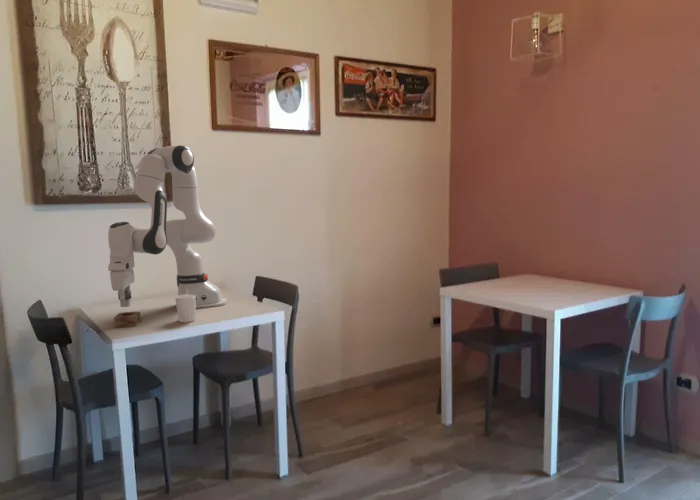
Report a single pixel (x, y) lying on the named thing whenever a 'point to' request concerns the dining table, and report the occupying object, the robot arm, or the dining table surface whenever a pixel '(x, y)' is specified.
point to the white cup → (186, 307)
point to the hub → (127, 319)
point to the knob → (127, 300)
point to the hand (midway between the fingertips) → (124, 297)
